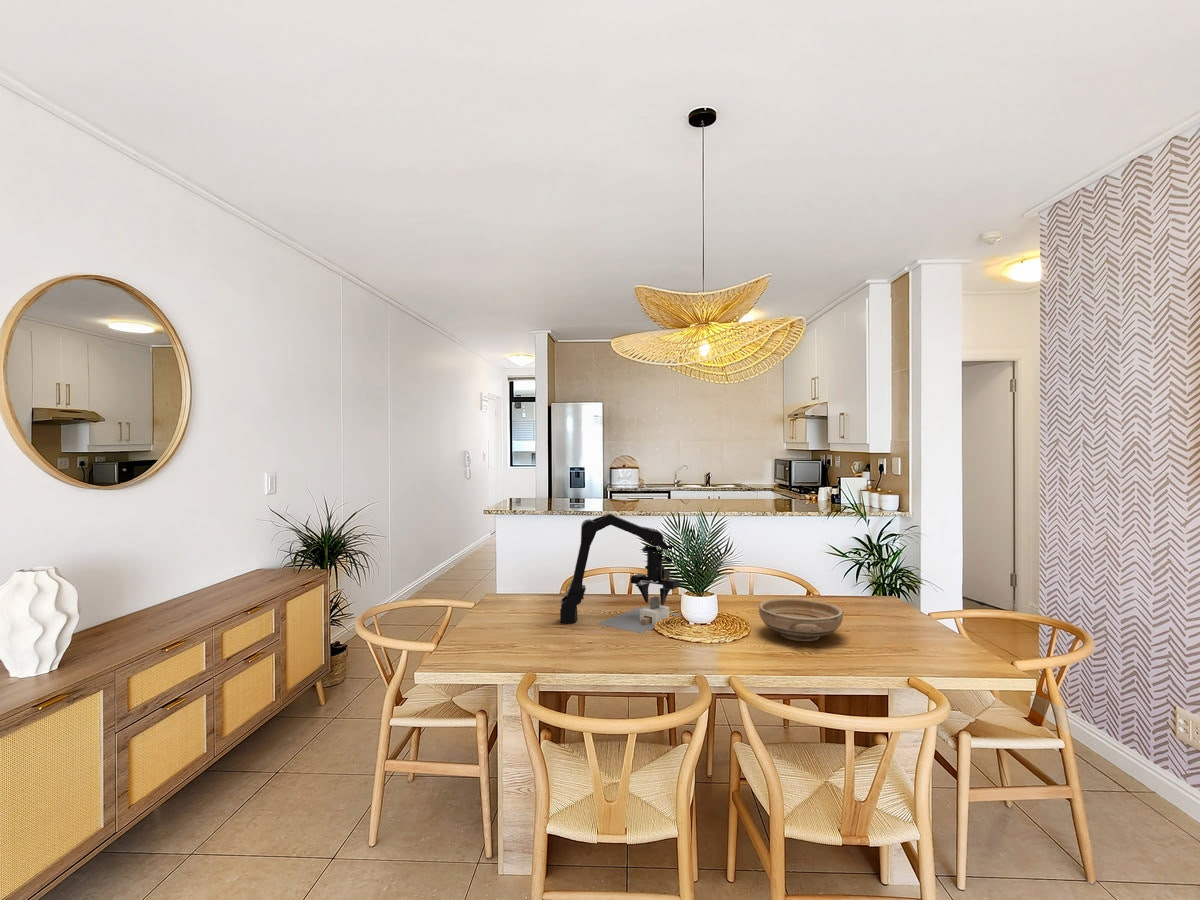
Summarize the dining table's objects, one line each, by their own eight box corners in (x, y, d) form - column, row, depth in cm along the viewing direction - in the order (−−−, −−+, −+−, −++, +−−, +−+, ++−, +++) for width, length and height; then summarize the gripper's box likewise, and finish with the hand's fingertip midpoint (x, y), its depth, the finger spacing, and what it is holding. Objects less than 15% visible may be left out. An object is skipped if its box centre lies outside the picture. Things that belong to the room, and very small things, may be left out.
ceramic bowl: (854, 655, 195) (854, 624, 195) (762, 650, 201) (762, 620, 201) (832, 623, 232) (832, 596, 232) (754, 619, 237) (754, 593, 237)
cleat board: (641, 636, 216) (641, 627, 216) (596, 626, 228) (596, 618, 228) (682, 617, 240) (682, 609, 240) (639, 609, 252) (639, 602, 252)
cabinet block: (655, 624, 227) (655, 601, 227) (639, 621, 231) (639, 598, 231) (669, 618, 235) (669, 596, 235) (653, 615, 239) (653, 593, 239)
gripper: (686, 562, 234) (686, 603, 234) (645, 557, 245) (645, 596, 245) (672, 567, 225) (672, 609, 225) (629, 561, 236) (629, 602, 236)
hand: (654, 604), depth 233 cm, fingers open, 7 cm apart
